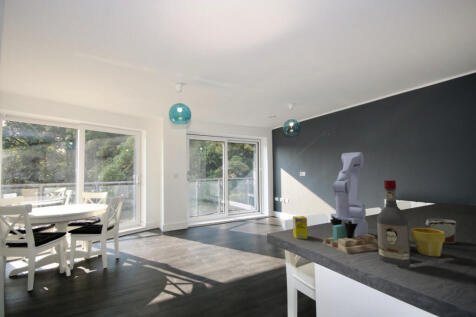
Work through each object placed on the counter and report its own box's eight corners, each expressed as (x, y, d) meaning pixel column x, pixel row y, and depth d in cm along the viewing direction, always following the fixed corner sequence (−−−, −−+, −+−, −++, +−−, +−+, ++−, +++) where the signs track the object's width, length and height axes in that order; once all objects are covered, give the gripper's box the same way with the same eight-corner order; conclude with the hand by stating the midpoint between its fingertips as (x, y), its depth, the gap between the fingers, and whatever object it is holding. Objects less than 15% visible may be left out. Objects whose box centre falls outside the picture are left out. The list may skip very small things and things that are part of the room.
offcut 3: (368, 244, 103) (367, 234, 103) (375, 247, 99) (375, 236, 99) (360, 245, 101) (359, 235, 102) (367, 248, 98) (367, 237, 98)
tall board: (351, 241, 108) (350, 223, 109) (355, 242, 106) (354, 224, 106) (333, 243, 105) (332, 225, 106) (337, 244, 103) (336, 226, 103)
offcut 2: (358, 245, 101) (357, 237, 101) (365, 248, 97) (365, 240, 97) (348, 247, 100) (348, 238, 100) (356, 249, 96) (355, 241, 96)
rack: (353, 240, 112) (353, 234, 112) (382, 251, 97) (382, 243, 97) (322, 244, 107) (321, 238, 107) (347, 256, 91) (347, 248, 92)
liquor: (382, 256, 91) (377, 180, 93) (411, 261, 85) (405, 180, 87) (378, 263, 83) (373, 180, 86) (409, 269, 78) (403, 181, 80)
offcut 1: (346, 247, 99) (346, 237, 100) (353, 250, 95) (353, 240, 96) (338, 248, 98) (337, 238, 98) (345, 251, 94) (344, 241, 94)
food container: (447, 239, 112) (446, 218, 113) (458, 243, 106) (456, 221, 106) (420, 239, 113) (419, 218, 114) (429, 242, 107) (428, 220, 108)
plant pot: (410, 249, 98) (408, 226, 98) (441, 253, 93) (439, 228, 94) (415, 257, 88) (413, 232, 89) (450, 262, 84) (448, 234, 84)
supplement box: (307, 240, 114) (307, 218, 115) (295, 240, 114) (295, 218, 115) (304, 237, 120) (303, 215, 121) (293, 237, 120) (292, 216, 121)
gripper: (325, 205, 112) (326, 233, 111) (347, 209, 99) (348, 241, 98) (337, 204, 115) (338, 232, 114) (360, 208, 101) (361, 239, 100)
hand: (343, 236), depth 106 cm, fingers open, 7 cm apart
